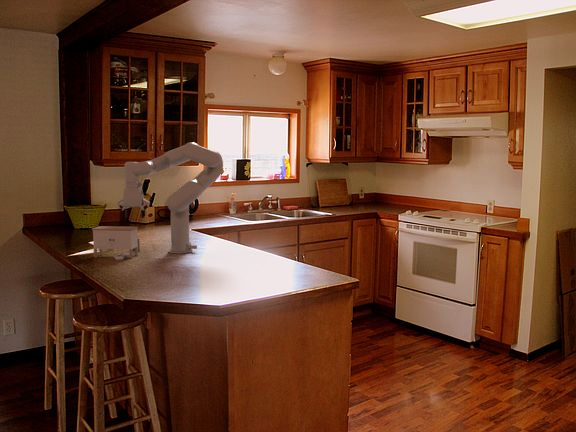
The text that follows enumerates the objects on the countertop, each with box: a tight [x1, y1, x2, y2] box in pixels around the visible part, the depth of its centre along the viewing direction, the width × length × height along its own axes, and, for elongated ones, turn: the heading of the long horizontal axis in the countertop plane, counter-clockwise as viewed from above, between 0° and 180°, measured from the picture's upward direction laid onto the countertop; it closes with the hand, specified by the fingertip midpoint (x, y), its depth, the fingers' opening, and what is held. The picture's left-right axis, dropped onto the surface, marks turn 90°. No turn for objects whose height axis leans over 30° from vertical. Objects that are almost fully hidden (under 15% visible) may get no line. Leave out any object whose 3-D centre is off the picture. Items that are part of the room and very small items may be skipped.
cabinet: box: [91, 225, 139, 259], centre depth 293 cm, size 21×10×15 cm, turn 84°
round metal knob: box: [114, 254, 125, 262], centre depth 285 cm, size 4×4×2 cm
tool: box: [120, 238, 141, 259], centre depth 298 cm, size 4×17×7 cm, turn 173°
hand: (134, 217), depth 303 cm, fingers open, 9 cm apart
